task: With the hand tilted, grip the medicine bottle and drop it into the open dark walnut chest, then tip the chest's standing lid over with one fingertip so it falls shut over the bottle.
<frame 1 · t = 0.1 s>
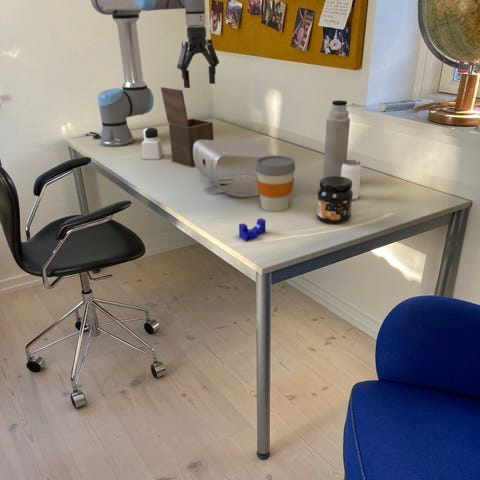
hand: (199, 85, 213), 28 cm above the table, tool pointing down, fingers open, 13 cm apart
chest: (193, 160, 221), on the table
supplement container: (333, 219, 161), on the table
medicine bottle: (153, 157, 227), on the table
cable holder: (253, 236, 152), on the table
thermos bottle: (333, 182, 192), on the table
lid: (174, 107, 204), point 23 cm above the table, hinge at 98.0°
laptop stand: (236, 187, 190), on the table
can: (348, 198, 177), on the table
reusable coffee cup: (275, 206, 172), on the table
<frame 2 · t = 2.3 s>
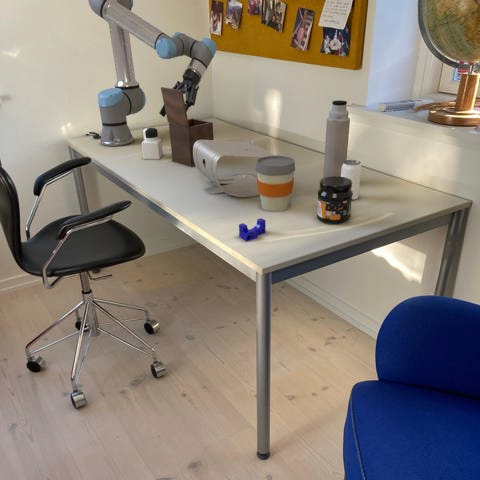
hand: (170, 116, 225), 15 cm above the table, tool tilted 45°, fingers open, 13 cm apart
nothing on the table moved.
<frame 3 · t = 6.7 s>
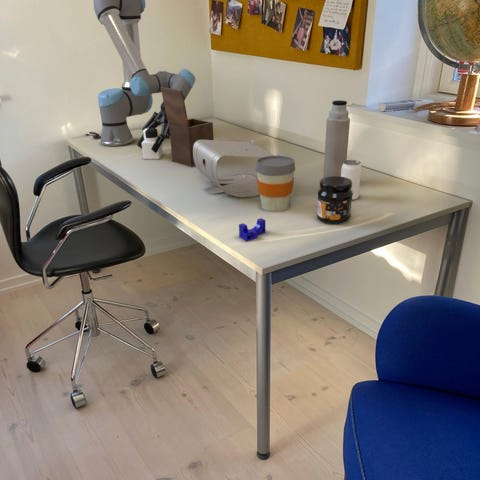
hand: (146, 148, 223), 4 cm above the table, tool tilted 45°, fingers closed on medicine bottle, 10 cm apart
medicine bottle: (153, 157, 227), on the table, touching gripper
everything else where it was.
when the fingers open (17 cm above the table, at t = 21.4 s): medicine bottle drops 12 cm, resting on chest.
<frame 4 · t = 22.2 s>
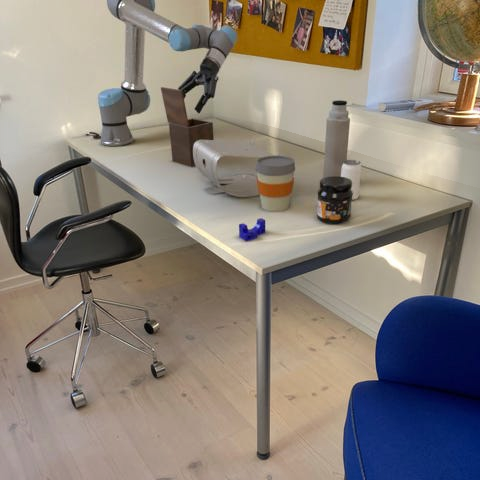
hand: (186, 109, 208), 21 cm above the table, tool tilted 45°, fingers open, 13 cm apart
medicine bottle: (194, 158, 221), point 1 cm above the table, touching chest
everything else where it was.
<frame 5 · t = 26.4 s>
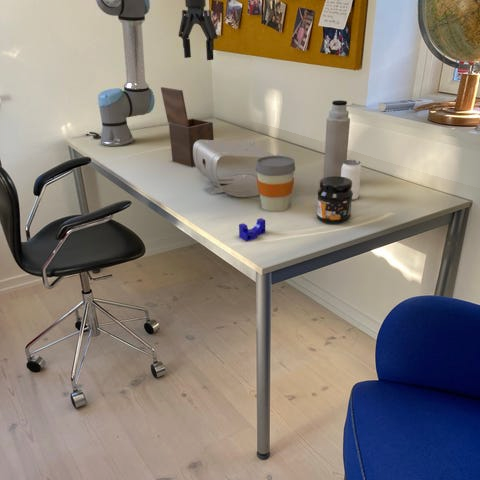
hand: (198, 58, 204), 38 cm above the table, tool pointing down, fingers open, 13 cm apart
nothing on the table moved.
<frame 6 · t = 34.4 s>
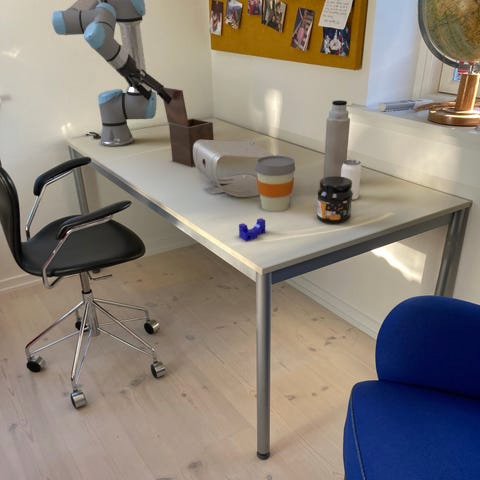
hand: (159, 99, 206), 25 cm above the table, tool tilted 45°, fingers open, 13 cm apart
lid: (174, 107, 204), point 23 cm above the table, hinge at 97.7°, touching gripper
everything else where it was.
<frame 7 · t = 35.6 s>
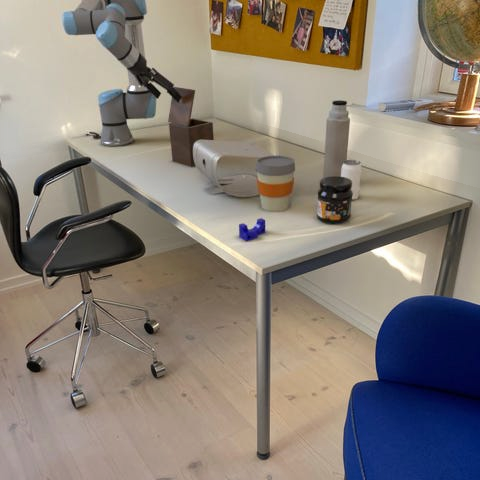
hand: (169, 97, 209), 25 cm above the table, tool tilted 45°, fingers open, 13 cm apart
lid: (181, 106, 206), point 22 cm above the table, hinge at 70.8°, touching gripper
everything else where it was.
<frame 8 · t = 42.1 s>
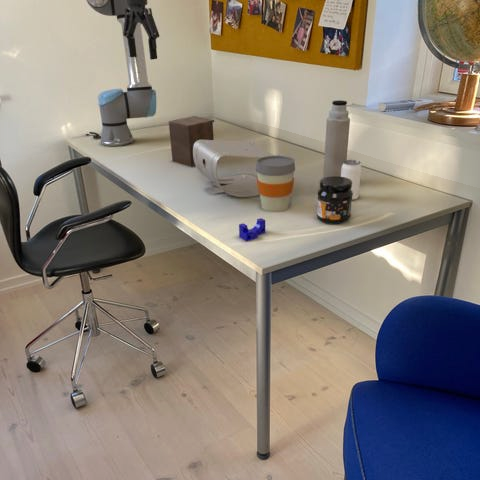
hand: (143, 58, 199), 40 cm above the table, tool pointing down, fingers open, 13 cm apart
lid: (191, 121, 212), point 16 cm above the table, hinge at -0.2°
everything else where it was.
at the end: medicine bottle inside the target area in the chest (0.6 cm from its centre), point 0.7 cm above the chest's base; lid at +0° (first picture: +98°) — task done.
